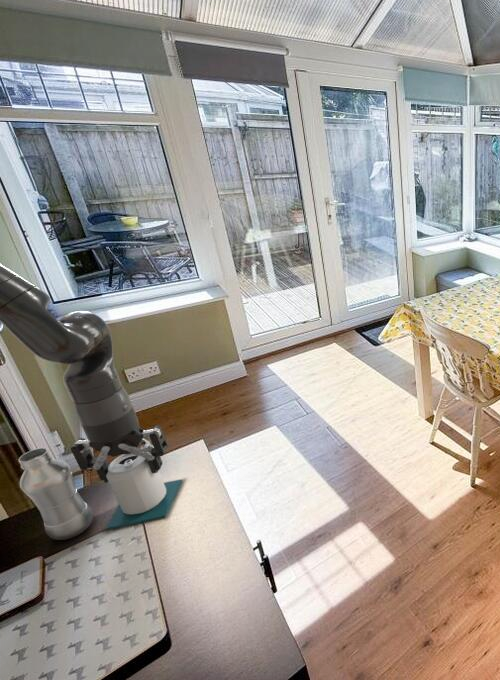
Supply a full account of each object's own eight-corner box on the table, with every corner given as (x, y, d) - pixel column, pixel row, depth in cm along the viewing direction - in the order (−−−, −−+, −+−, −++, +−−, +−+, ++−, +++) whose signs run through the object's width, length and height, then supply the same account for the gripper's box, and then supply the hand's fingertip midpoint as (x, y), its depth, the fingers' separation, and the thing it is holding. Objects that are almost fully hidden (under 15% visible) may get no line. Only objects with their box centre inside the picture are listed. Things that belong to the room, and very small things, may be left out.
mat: (106, 530, 84) (105, 528, 83) (129, 491, 92) (128, 489, 92) (165, 517, 87) (164, 515, 87) (182, 481, 95) (181, 479, 95)
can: (164, 482, 94) (148, 441, 89) (170, 503, 89) (153, 461, 84) (121, 501, 89) (101, 459, 84) (124, 524, 84) (104, 481, 80)
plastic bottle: (60, 522, 85) (18, 447, 77) (103, 511, 87) (66, 438, 79) (43, 550, 80) (-4, 472, 72) (89, 538, 82) (47, 462, 74)
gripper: (158, 394, 85) (180, 454, 92) (70, 406, 80) (100, 469, 87) (142, 417, 78) (167, 480, 85) (45, 431, 74) (80, 497, 81)
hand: (133, 474), depth 86 cm, fingers closed on can, 7 cm apart
